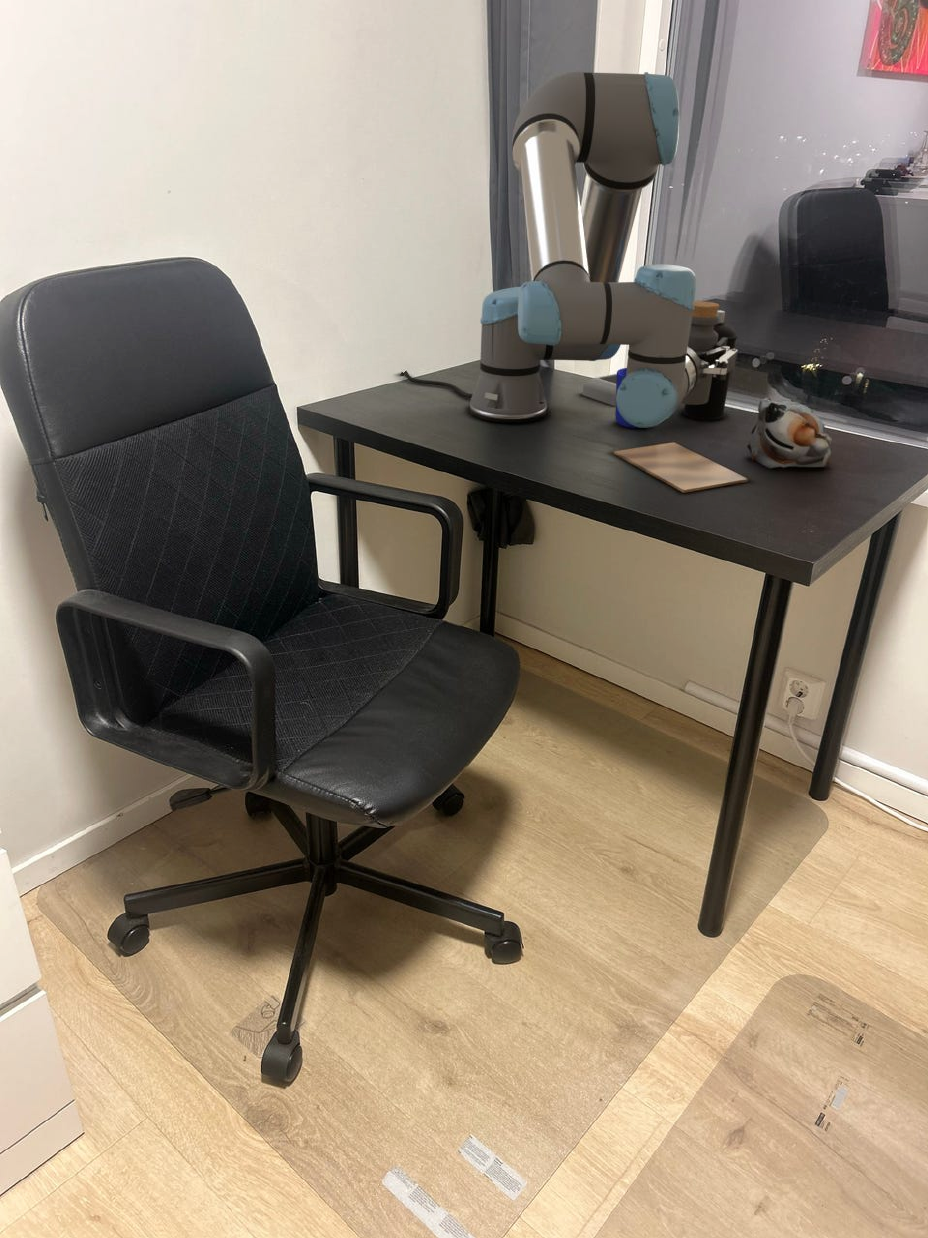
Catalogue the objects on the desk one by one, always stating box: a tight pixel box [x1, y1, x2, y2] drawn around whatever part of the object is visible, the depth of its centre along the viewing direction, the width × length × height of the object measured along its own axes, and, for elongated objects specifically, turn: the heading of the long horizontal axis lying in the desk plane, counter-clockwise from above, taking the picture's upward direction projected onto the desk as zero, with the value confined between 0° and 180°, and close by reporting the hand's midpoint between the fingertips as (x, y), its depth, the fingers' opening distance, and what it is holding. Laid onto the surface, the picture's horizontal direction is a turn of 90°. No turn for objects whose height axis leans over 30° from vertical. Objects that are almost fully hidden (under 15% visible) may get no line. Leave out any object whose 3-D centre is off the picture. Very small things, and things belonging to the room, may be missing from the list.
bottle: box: [680, 300, 720, 405], centre depth 139 cm, size 6×6×15 cm
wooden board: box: [613, 441, 749, 494], centre depth 150 cm, size 20×13×1 cm, turn 25°
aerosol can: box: [682, 309, 739, 422], centre depth 172 cm, size 8×8×20 cm
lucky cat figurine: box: [746, 397, 833, 470], centre depth 149 cm, size 15×12×14 cm
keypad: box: [582, 373, 617, 407], centre depth 187 cm, size 10×4×15 cm
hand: (703, 343), depth 143 cm, fingers closed on bottle, 6 cm apart
